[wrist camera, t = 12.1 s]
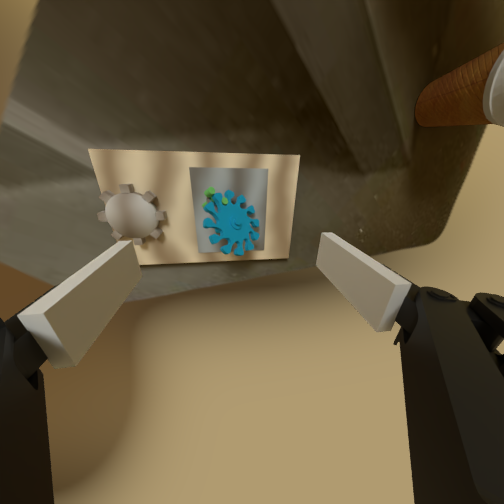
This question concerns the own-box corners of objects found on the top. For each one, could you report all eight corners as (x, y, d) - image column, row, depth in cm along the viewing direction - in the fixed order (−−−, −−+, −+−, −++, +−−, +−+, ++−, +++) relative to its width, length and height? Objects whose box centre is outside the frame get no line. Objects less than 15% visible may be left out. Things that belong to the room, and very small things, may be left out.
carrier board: (296, 155, 30) (303, 154, 28) (286, 254, 38) (290, 261, 35) (90, 149, 26) (74, 147, 24) (124, 261, 34) (115, 270, 31)
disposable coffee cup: (473, 86, 30) (615, 41, 19) (430, 148, 33) (530, 140, 22) (436, 49, 27) (577, -28, 16) (393, 121, 30) (487, 96, 19)
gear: (271, 232, 32) (235, 269, 26) (249, 239, 36) (214, 271, 30) (236, 172, 28) (186, 198, 22) (217, 187, 33) (170, 212, 27)
